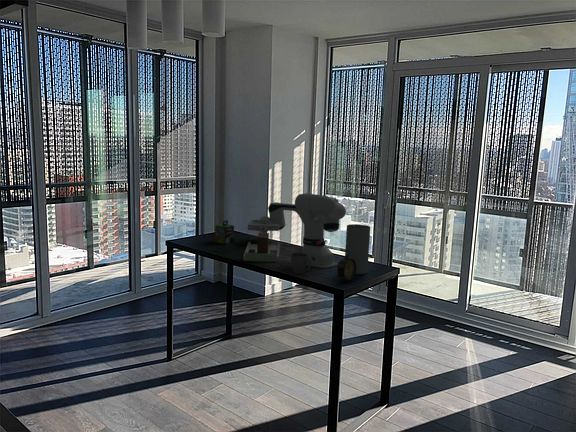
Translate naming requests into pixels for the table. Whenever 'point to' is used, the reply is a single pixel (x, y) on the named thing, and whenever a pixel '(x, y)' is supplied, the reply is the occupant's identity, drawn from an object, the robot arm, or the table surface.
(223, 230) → the chalk box
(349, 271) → the alarm clock
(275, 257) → the box
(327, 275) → the table surface
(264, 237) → the walnut block
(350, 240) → the cylinder vase
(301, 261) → the mug
